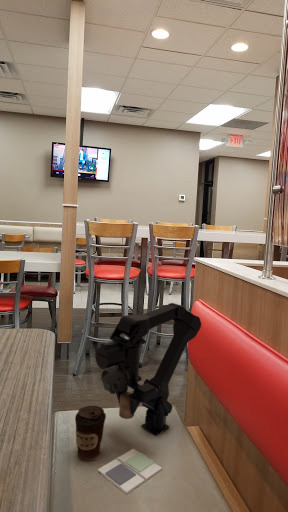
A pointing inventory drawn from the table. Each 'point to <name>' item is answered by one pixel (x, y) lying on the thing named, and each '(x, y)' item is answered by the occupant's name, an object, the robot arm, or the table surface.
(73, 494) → the table surface
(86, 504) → the table surface
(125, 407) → the brown tapered cylinder
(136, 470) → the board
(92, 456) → the coffee cup
